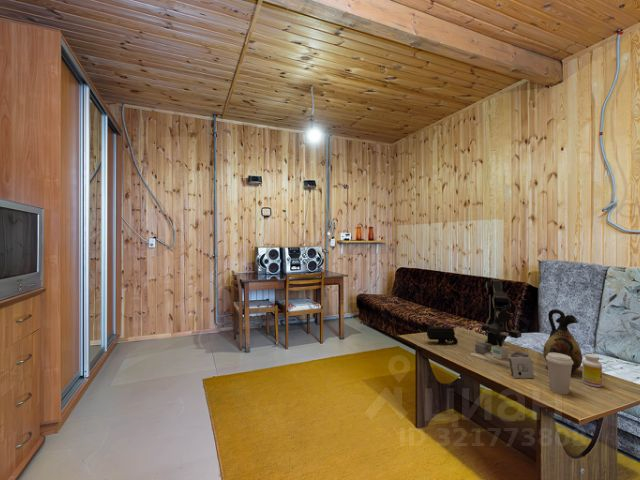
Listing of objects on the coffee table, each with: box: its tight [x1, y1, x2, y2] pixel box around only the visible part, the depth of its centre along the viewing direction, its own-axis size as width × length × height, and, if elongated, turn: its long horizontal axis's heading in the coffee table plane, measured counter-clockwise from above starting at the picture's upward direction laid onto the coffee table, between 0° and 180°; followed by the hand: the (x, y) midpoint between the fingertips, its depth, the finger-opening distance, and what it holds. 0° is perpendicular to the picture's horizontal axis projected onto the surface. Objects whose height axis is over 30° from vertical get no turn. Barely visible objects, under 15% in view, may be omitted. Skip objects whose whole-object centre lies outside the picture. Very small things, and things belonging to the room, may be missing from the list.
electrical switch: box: [509, 356, 535, 379], centre depth 148 cm, size 9×5×9 cm, turn 90°
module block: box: [491, 344, 510, 359], centre depth 169 cm, size 8×5×5 cm, turn 122°
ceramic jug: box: [542, 308, 583, 375], centre depth 155 cm, size 17×15×30 cm
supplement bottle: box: [581, 353, 603, 388], centre depth 140 cm, size 7×7×13 cm
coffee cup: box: [545, 353, 574, 395], centre depth 133 cm, size 10×10×15 cm
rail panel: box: [469, 341, 533, 369], centre depth 169 cm, size 18×24×6 cm
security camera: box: [426, 326, 459, 345], centre depth 194 cm, size 7×18×10 cm, turn 89°
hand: (500, 346), depth 169 cm, fingers closed
